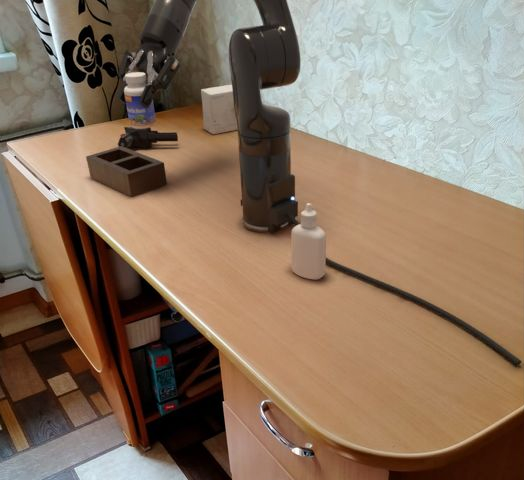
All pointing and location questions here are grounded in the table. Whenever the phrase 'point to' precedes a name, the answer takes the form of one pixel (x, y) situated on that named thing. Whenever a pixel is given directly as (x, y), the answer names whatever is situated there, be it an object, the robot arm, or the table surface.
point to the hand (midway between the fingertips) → (132, 103)
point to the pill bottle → (136, 111)
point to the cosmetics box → (218, 109)
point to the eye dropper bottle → (308, 246)
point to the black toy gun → (144, 137)
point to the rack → (127, 170)
